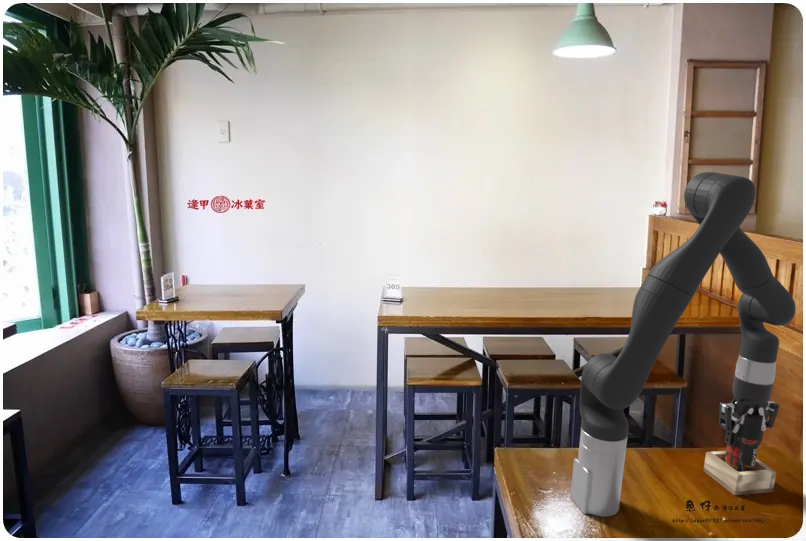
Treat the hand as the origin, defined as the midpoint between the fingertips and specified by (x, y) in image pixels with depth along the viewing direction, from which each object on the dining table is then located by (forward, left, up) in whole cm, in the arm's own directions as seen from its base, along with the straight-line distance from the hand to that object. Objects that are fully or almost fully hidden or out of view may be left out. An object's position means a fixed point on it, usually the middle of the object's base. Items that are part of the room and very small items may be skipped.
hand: (742, 444), depth 128 cm
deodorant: (0, 0, -7) cm, 7 cm away
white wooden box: (0, 0, -9) cm, 9 cm away
